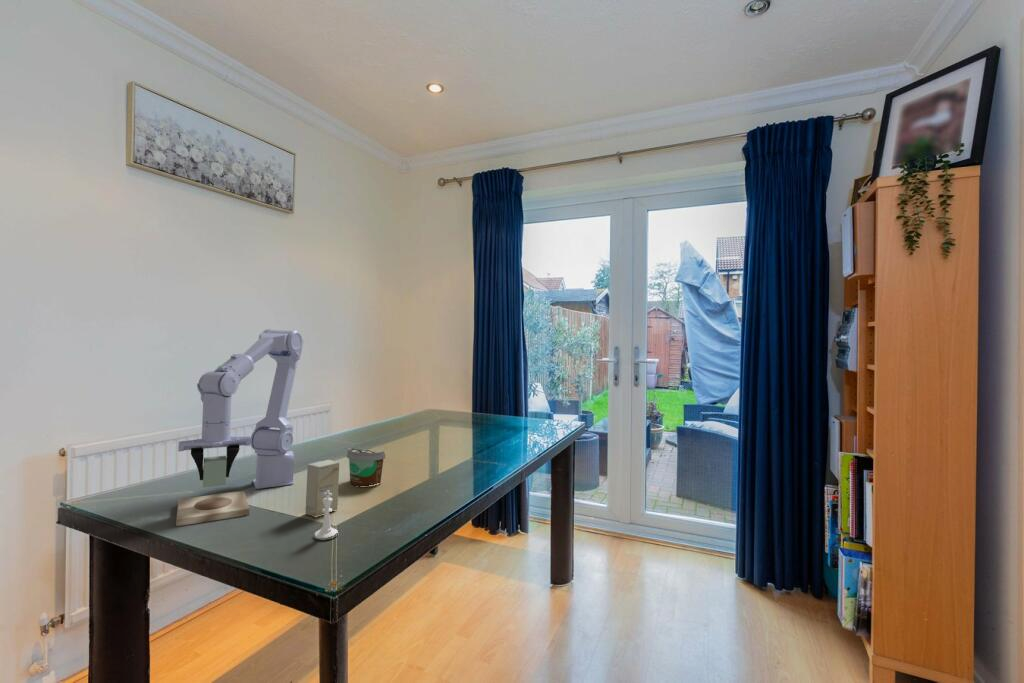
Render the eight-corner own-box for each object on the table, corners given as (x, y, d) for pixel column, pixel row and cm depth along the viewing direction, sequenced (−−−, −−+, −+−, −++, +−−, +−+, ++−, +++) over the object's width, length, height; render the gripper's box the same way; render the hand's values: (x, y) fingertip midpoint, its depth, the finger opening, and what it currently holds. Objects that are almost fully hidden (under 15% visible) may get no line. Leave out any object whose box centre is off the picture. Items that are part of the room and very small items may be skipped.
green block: (224, 479, 114) (225, 455, 114) (225, 484, 110) (226, 460, 110) (202, 482, 111) (203, 457, 111) (203, 487, 108) (204, 462, 107)
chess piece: (329, 542, 97) (331, 495, 97) (308, 539, 98) (310, 492, 98) (342, 532, 102) (344, 488, 102) (322, 530, 103) (324, 485, 103)
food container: (336, 484, 133) (337, 449, 133) (350, 478, 139) (352, 445, 139) (370, 491, 128) (371, 456, 128) (384, 485, 134) (385, 451, 134)
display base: (244, 496, 121) (244, 489, 120) (249, 514, 109) (249, 507, 109) (178, 505, 113) (178, 498, 113) (176, 526, 101) (176, 518, 101)
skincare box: (315, 518, 109) (317, 467, 109) (304, 514, 111) (306, 464, 111) (338, 510, 114) (340, 461, 114) (327, 506, 116) (329, 458, 116)
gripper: (178, 426, 103) (176, 486, 103) (252, 422, 111) (250, 478, 111) (179, 421, 109) (177, 478, 109) (249, 417, 117) (247, 470, 117)
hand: (214, 477), depth 111 cm, fingers closed on green block, 4 cm apart
